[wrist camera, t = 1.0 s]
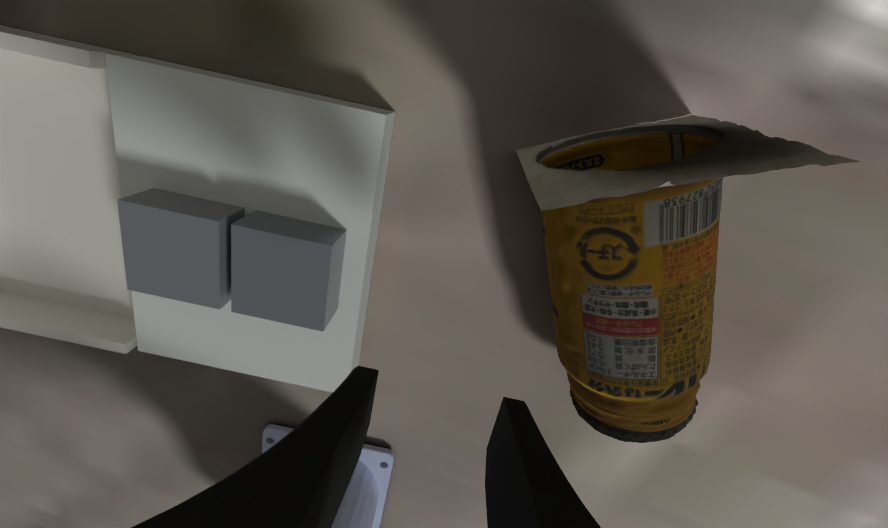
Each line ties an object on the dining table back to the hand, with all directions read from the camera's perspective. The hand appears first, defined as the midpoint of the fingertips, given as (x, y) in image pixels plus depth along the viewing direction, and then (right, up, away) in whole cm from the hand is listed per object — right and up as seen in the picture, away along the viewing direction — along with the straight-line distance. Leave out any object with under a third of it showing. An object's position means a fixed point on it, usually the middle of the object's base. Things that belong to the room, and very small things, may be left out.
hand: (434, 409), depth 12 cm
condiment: (+6, +8, +2) cm, 11 cm away
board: (-9, +6, +9) cm, 13 cm away
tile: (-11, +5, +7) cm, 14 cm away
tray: (-19, +8, +8) cm, 22 cm away
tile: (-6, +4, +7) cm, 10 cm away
